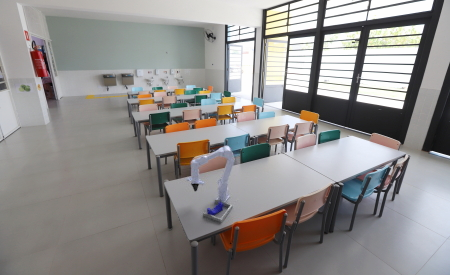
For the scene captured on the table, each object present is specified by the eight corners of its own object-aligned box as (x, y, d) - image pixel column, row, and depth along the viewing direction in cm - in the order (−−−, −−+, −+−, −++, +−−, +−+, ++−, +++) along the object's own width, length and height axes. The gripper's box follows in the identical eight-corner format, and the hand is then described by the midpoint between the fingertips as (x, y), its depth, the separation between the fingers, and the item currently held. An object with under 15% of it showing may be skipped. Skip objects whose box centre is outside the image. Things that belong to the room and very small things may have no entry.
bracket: (215, 201, 172) (215, 199, 171) (232, 207, 166) (232, 204, 165) (203, 215, 157) (203, 213, 156) (221, 222, 151) (221, 219, 150)
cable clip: (218, 207, 166) (218, 200, 164) (222, 210, 163) (222, 203, 161) (206, 214, 159) (205, 207, 157) (209, 217, 156) (209, 210, 154)
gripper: (183, 175, 164) (184, 190, 169) (200, 180, 158) (200, 196, 163) (189, 171, 170) (190, 186, 175) (205, 175, 164) (205, 191, 169)
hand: (195, 190), depth 169 cm, fingers closed
